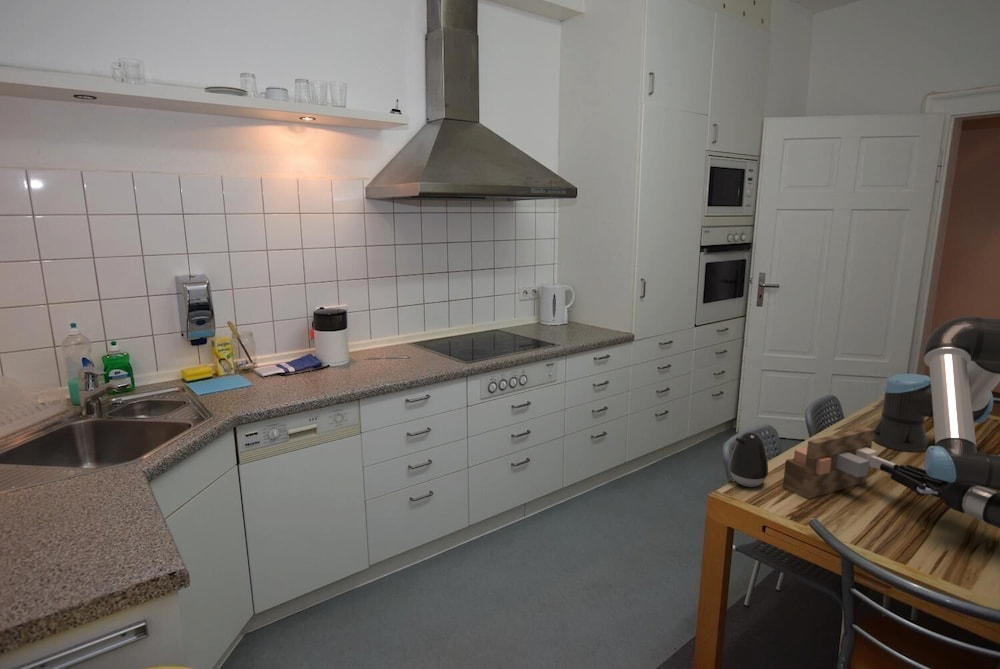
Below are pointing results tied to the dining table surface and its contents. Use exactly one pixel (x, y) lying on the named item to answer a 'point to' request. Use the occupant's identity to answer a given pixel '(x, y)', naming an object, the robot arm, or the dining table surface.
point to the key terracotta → (821, 464)
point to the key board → (816, 485)
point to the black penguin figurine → (749, 460)
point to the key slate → (852, 464)
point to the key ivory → (865, 453)
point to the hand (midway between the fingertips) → (871, 460)
